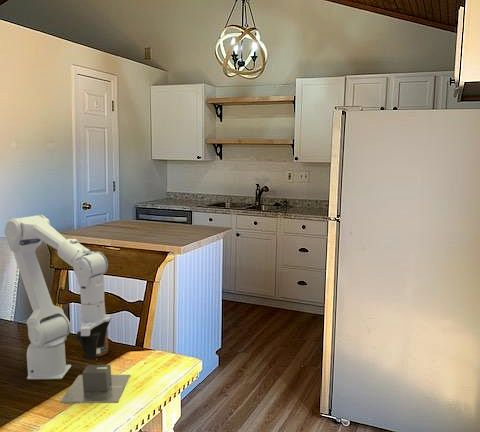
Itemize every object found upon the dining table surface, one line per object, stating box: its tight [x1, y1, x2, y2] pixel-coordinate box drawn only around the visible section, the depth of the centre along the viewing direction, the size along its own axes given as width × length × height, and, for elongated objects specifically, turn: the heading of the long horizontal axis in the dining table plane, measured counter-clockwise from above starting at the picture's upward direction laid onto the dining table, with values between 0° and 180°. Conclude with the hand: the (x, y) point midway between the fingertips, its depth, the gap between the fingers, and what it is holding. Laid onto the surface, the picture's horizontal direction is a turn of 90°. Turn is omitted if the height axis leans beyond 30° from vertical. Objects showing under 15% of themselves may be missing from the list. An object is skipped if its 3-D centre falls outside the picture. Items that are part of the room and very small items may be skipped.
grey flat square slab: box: [59, 374, 131, 404], centre depth 127 cm, size 14×14×3 cm
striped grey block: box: [81, 364, 112, 392], centre depth 127 cm, size 6×4×5 cm
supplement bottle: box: [95, 329, 109, 358], centre depth 148 cm, size 6×6×11 cm
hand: (95, 352), depth 126 cm, fingers open, 7 cm apart
